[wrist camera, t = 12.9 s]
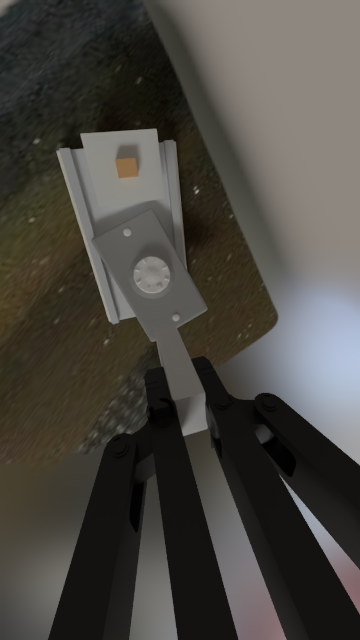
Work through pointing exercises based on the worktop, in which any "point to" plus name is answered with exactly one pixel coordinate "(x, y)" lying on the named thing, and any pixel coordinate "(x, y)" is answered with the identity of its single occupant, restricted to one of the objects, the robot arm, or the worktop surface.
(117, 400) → the worktop surface
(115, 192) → the rail board
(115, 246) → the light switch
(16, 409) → the worktop surface
